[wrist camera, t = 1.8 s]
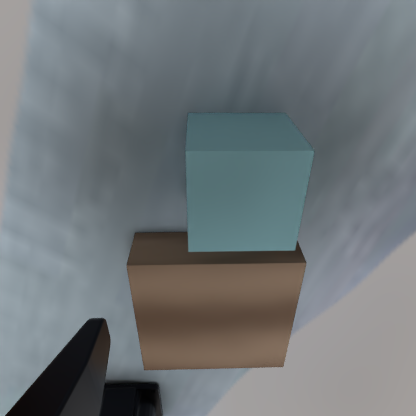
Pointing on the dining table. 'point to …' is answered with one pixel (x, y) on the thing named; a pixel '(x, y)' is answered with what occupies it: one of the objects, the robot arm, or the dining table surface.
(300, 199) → the block
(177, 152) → the dining table surface
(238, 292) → the walnut base
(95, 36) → the dining table surface
